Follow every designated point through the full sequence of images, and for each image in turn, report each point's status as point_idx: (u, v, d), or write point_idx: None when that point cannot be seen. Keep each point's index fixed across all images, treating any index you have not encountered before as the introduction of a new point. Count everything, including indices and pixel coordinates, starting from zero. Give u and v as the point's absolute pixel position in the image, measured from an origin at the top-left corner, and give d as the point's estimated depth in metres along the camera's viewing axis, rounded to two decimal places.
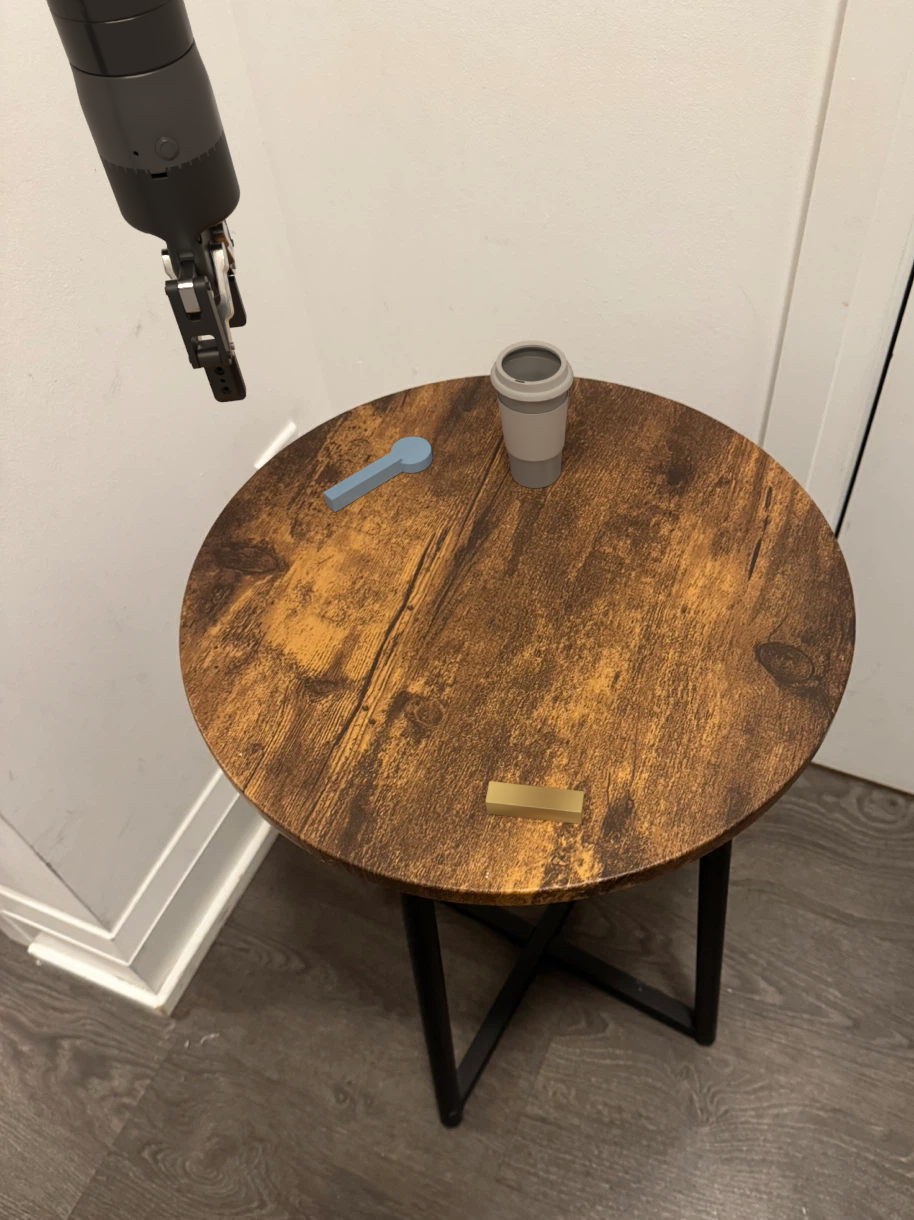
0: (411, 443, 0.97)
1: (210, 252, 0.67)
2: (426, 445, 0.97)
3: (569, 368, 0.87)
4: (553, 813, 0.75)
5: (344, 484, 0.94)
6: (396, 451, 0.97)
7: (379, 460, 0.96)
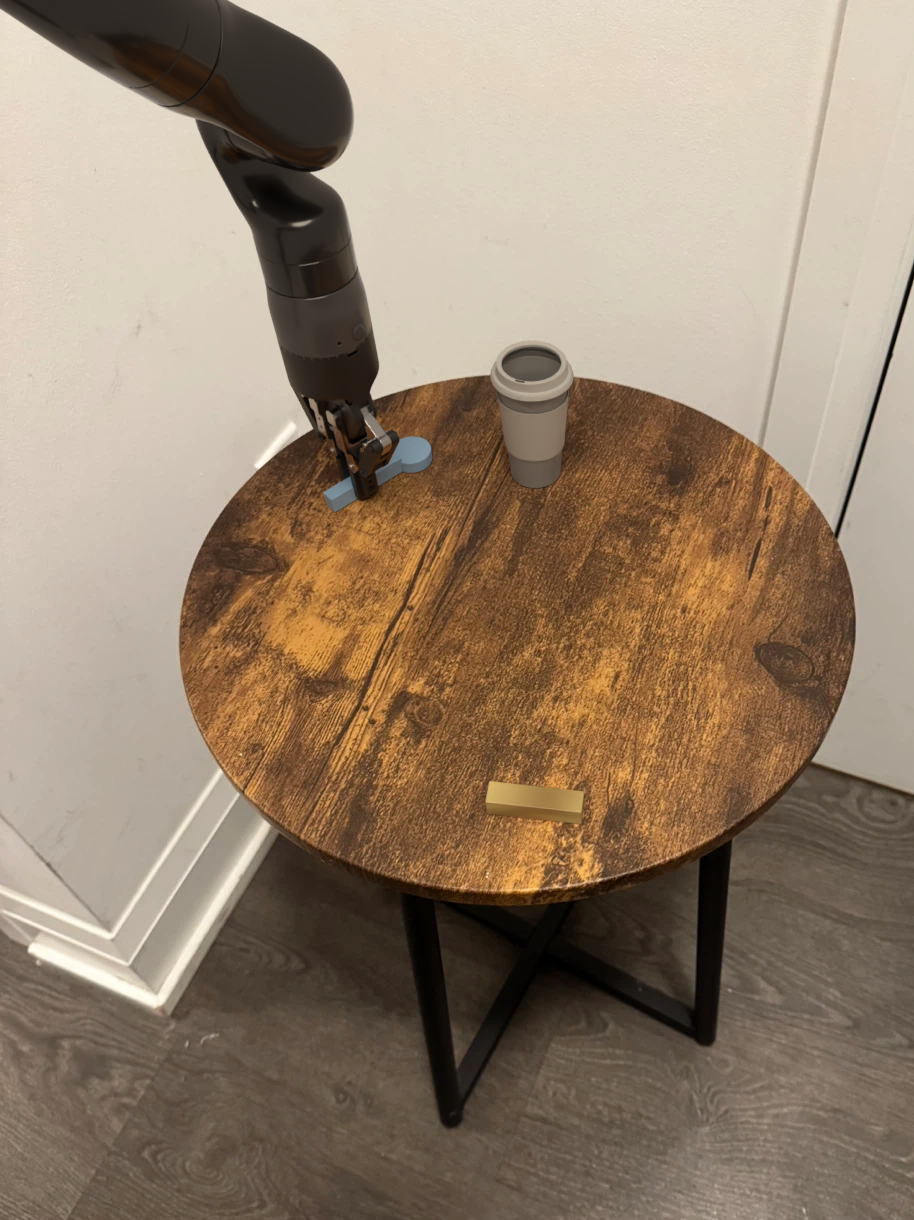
0: (411, 443, 0.97)
1: None
2: (425, 445, 0.97)
3: (569, 368, 0.87)
4: (553, 813, 0.75)
5: (344, 484, 0.94)
6: (396, 451, 0.97)
7: None
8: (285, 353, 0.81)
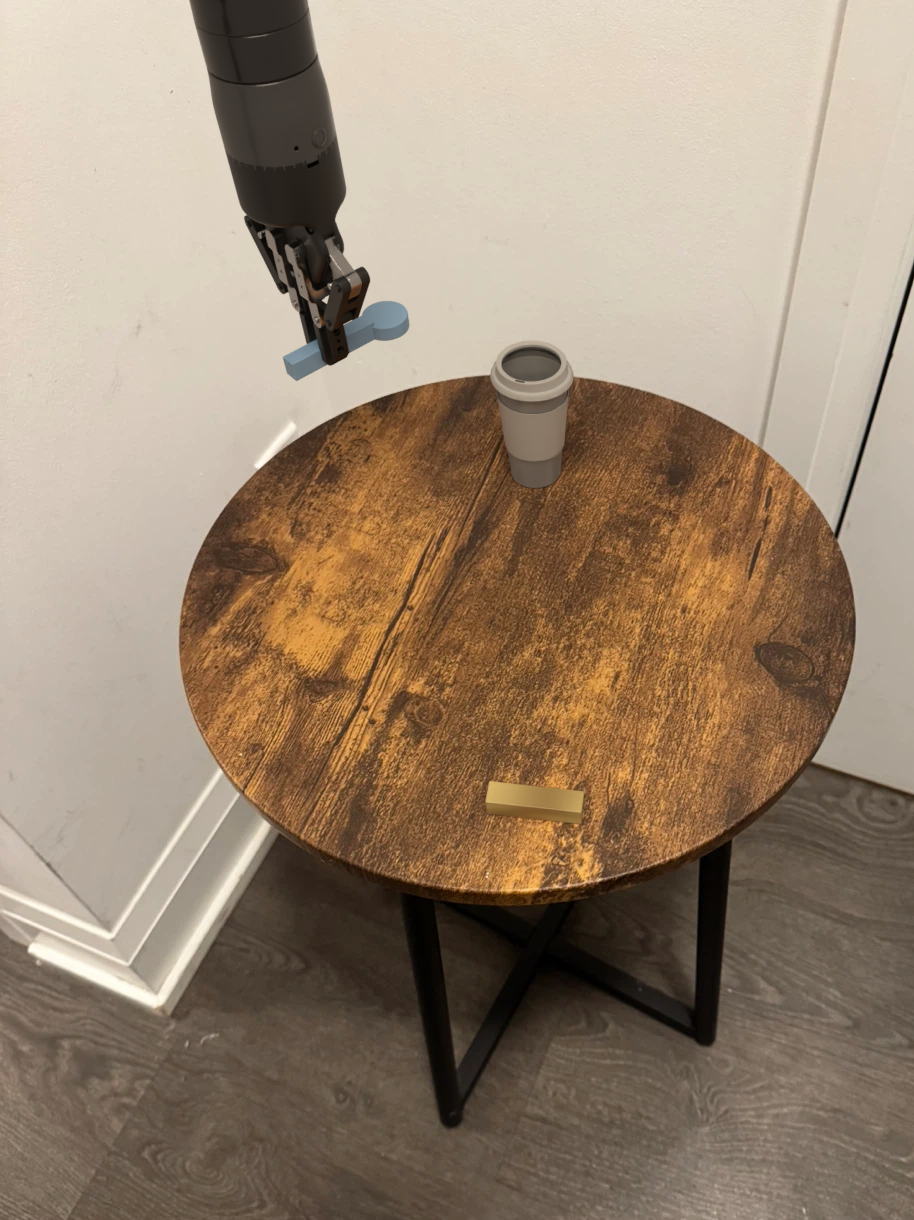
0: (385, 307, 0.85)
1: None
2: (402, 310, 0.85)
3: (569, 368, 0.87)
4: (553, 813, 0.75)
5: (307, 349, 0.82)
6: (368, 316, 0.85)
7: (348, 324, 0.84)
8: (234, 165, 0.69)
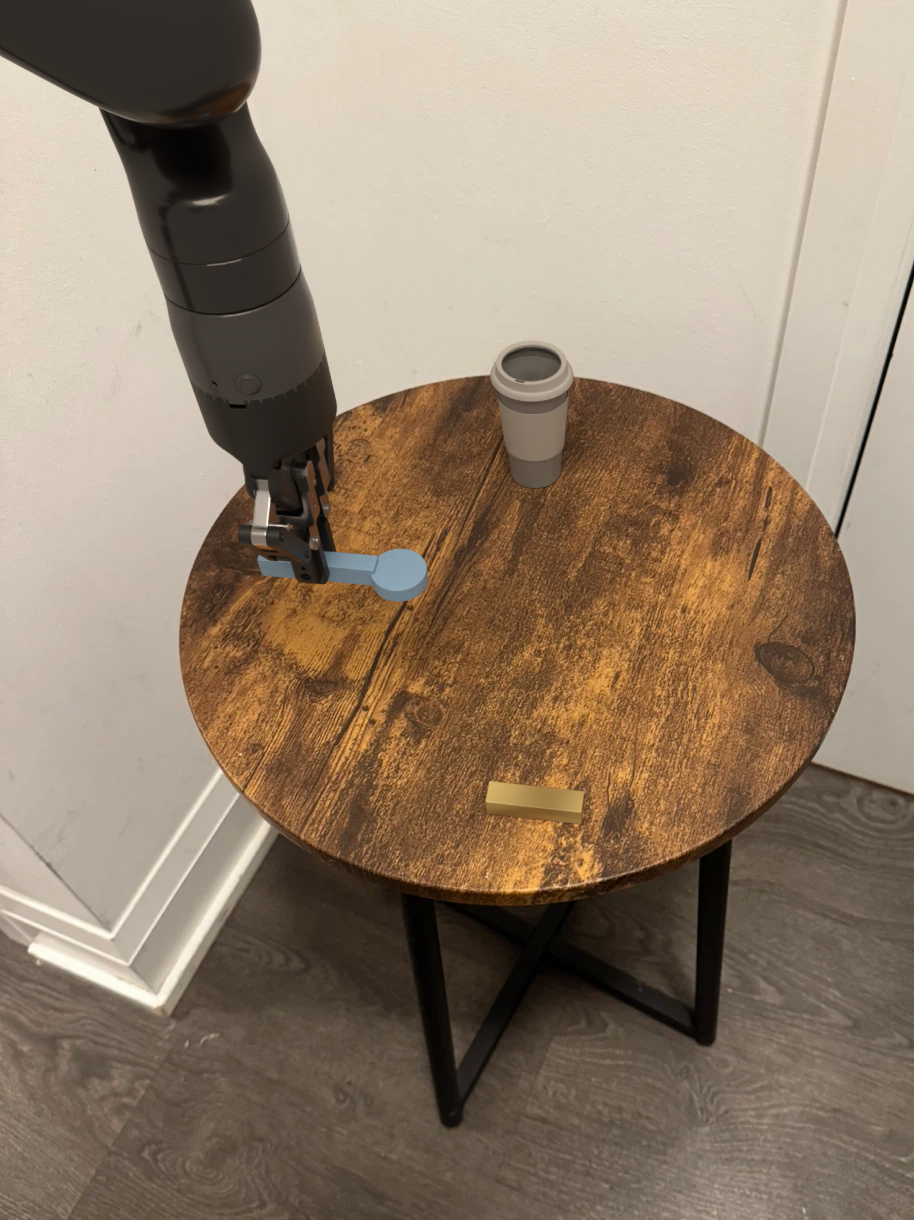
0: (408, 562, 0.70)
1: (293, 471, 0.61)
2: (417, 576, 0.69)
3: (569, 368, 0.87)
4: (553, 813, 0.75)
5: None
6: (384, 559, 0.70)
7: (351, 555, 0.70)
8: None
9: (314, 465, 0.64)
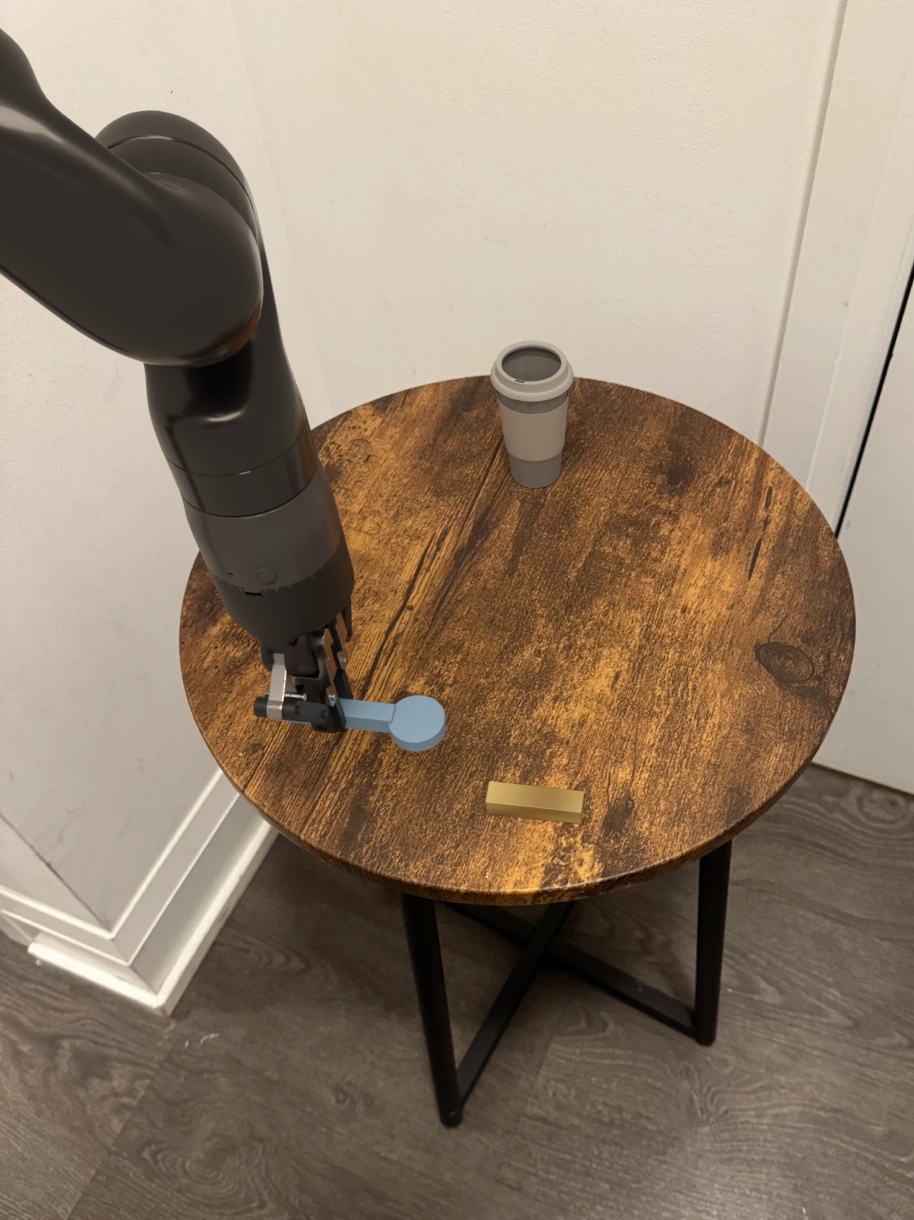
0: (426, 711, 0.69)
1: (309, 640, 0.60)
2: (435, 727, 0.68)
3: (569, 368, 0.87)
4: (553, 813, 0.75)
5: None
6: (401, 707, 0.69)
7: (369, 703, 0.69)
8: None
9: (331, 626, 0.63)
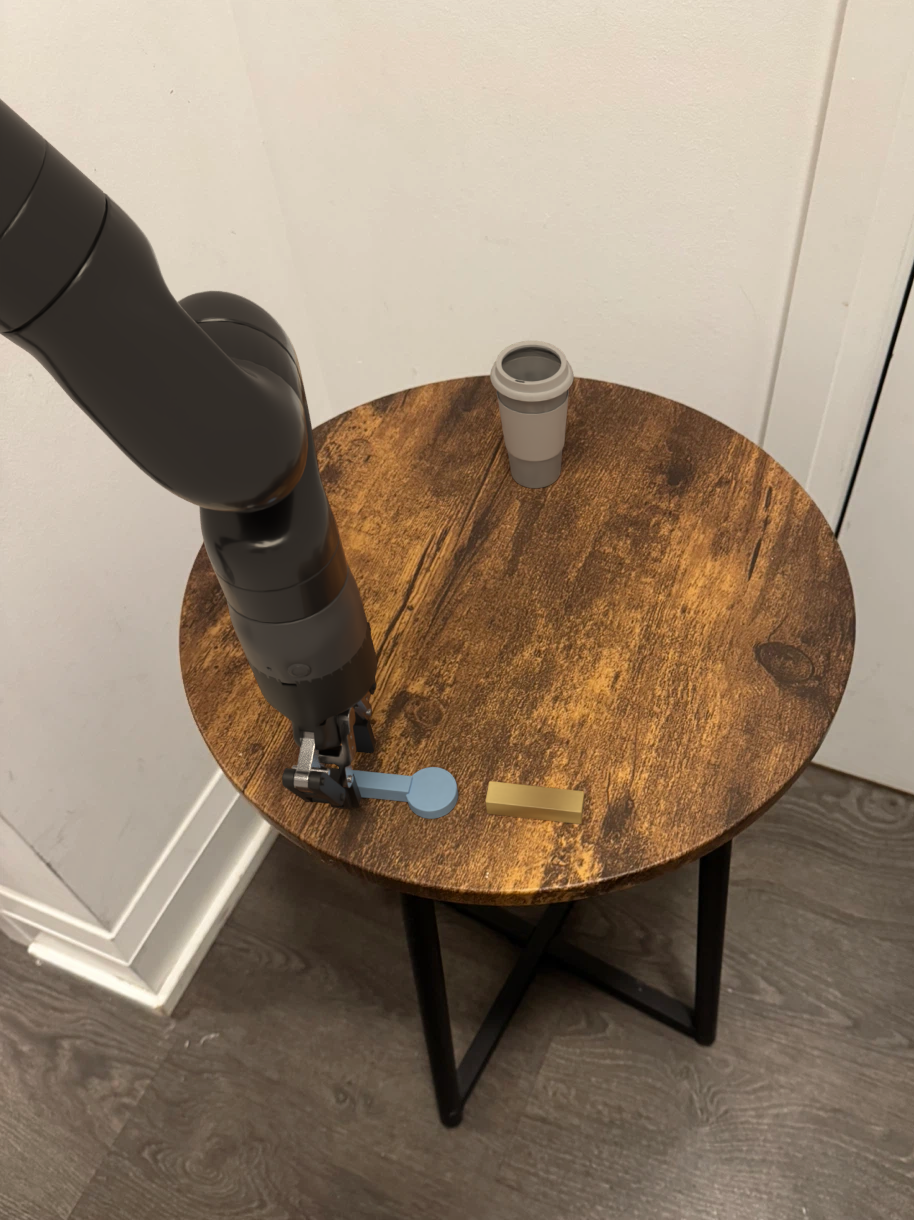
0: (440, 781, 0.76)
1: (336, 718, 0.66)
2: (448, 796, 0.76)
3: (569, 368, 0.87)
4: (553, 813, 0.75)
5: None
6: (418, 778, 0.77)
7: (388, 775, 0.76)
8: None
9: None
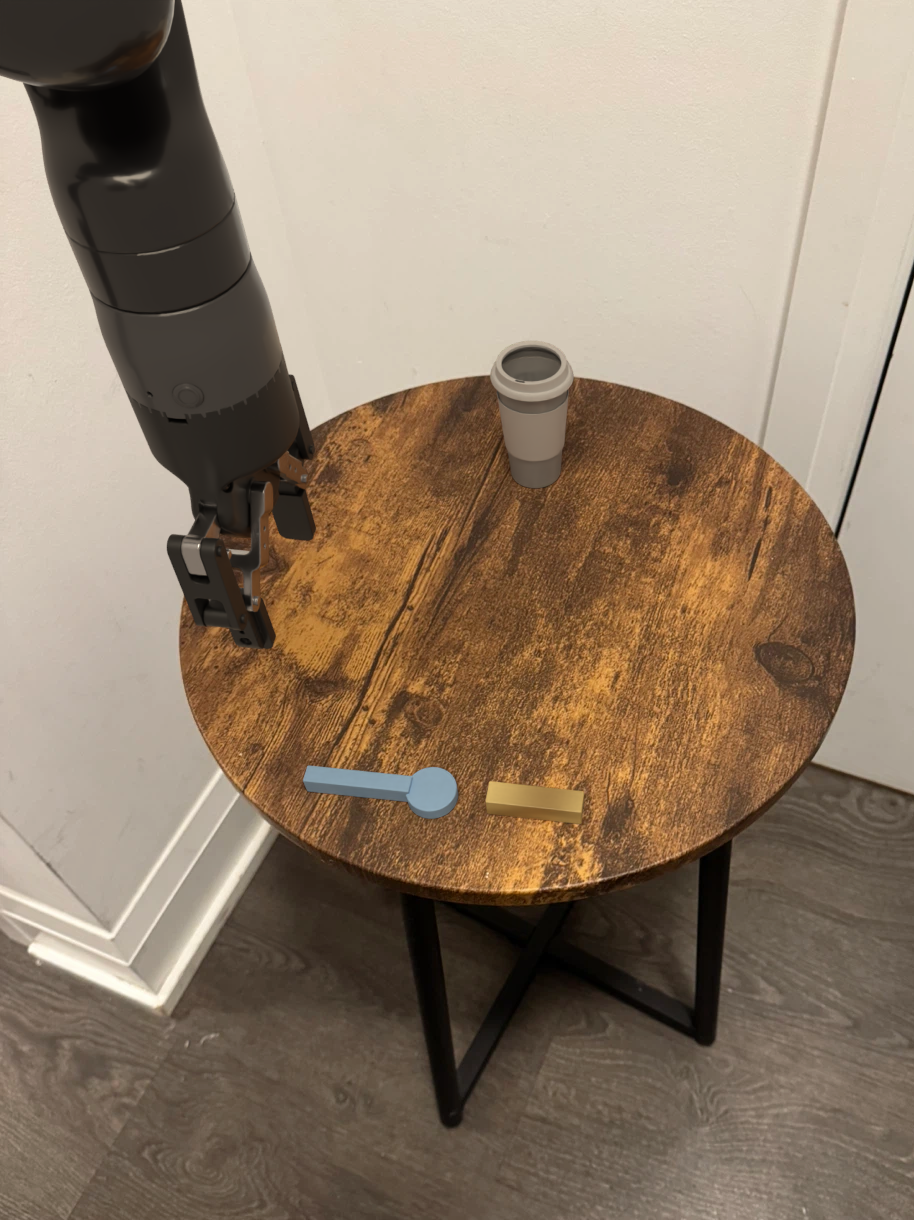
0: (440, 781, 0.76)
1: (248, 493, 0.53)
2: (448, 796, 0.76)
3: (569, 368, 0.87)
4: (553, 813, 0.75)
5: (331, 774, 0.77)
6: (418, 778, 0.77)
7: (388, 775, 0.76)
8: None
9: (281, 475, 0.56)
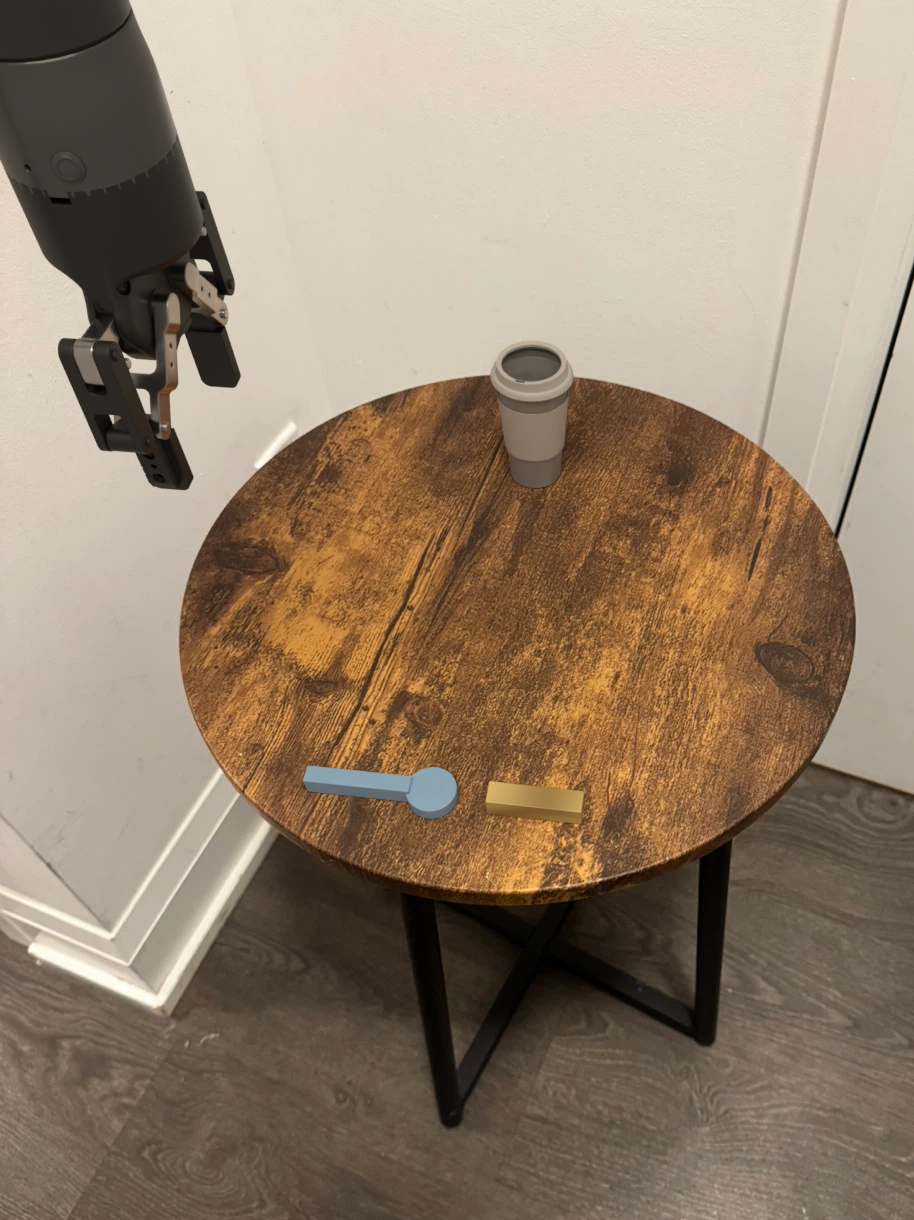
0: (440, 781, 0.76)
1: (151, 304, 0.50)
2: (448, 796, 0.76)
3: (569, 368, 0.87)
4: (553, 813, 0.75)
5: (331, 774, 0.77)
6: (418, 778, 0.77)
7: (388, 775, 0.76)
8: None
9: (192, 297, 0.53)
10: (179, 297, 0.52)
